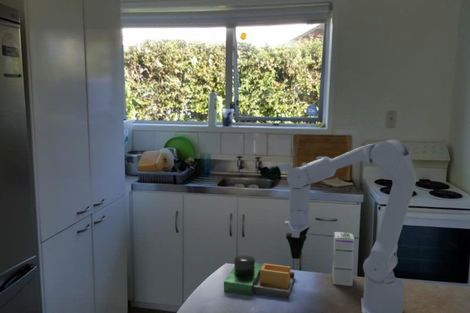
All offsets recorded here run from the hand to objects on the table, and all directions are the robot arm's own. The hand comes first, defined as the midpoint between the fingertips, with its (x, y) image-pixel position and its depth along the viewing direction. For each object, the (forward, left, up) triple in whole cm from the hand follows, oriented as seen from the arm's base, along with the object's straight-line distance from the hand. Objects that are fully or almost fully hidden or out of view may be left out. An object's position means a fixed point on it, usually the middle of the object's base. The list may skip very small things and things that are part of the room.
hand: (297, 253), depth 111 cm
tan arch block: (+6, +3, -9) cm, 11 cm away
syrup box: (-13, -6, -10) cm, 17 cm away
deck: (+10, +3, -9) cm, 14 cm away
